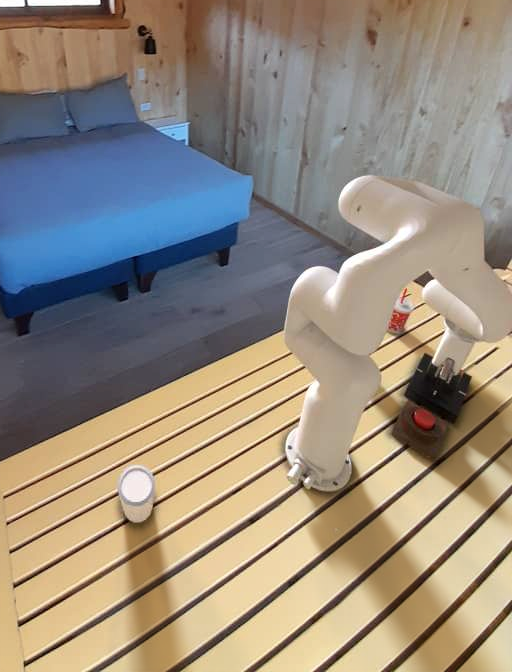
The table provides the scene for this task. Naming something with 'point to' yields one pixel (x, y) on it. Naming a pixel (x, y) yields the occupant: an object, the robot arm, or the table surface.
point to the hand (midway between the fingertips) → (441, 379)
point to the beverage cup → (400, 314)
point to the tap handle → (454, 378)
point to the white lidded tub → (136, 492)
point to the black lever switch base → (436, 392)
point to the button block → (419, 431)
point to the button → (424, 419)
